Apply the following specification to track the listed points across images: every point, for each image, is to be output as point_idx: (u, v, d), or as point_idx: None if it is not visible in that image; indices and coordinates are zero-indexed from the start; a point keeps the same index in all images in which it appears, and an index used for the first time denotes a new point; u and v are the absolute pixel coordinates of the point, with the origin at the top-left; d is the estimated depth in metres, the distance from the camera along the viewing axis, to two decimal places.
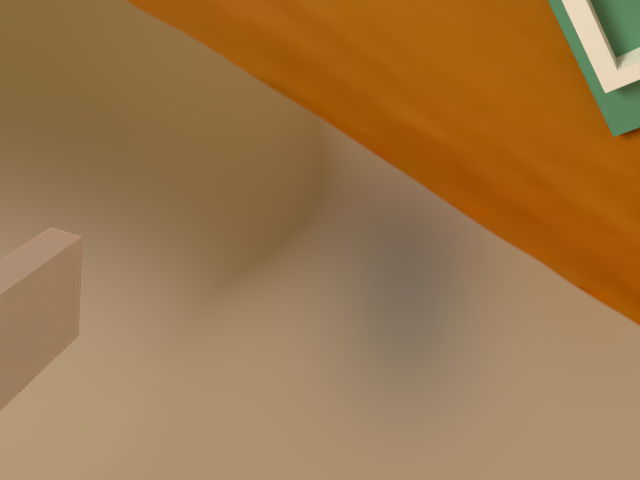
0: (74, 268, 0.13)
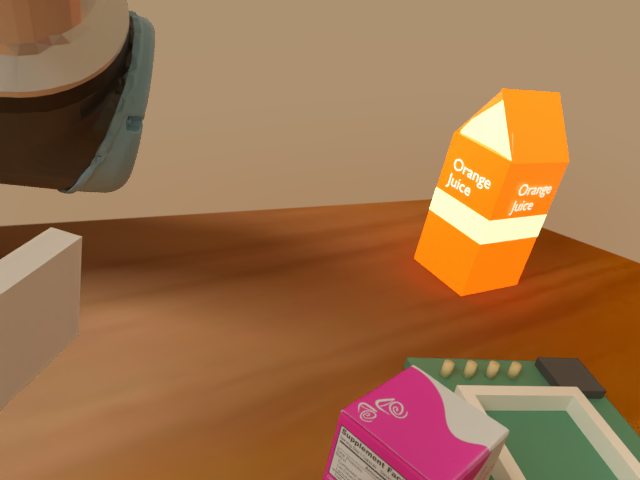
0: (74, 268, 0.13)
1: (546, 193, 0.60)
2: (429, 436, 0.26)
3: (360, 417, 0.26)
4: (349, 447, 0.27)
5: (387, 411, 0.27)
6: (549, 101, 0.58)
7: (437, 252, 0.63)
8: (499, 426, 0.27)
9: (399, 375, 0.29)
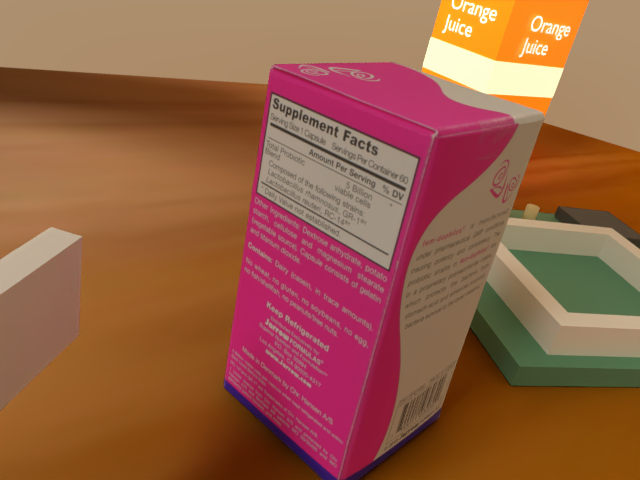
0: (74, 268, 0.13)
1: (563, 37, 0.50)
2: (414, 95, 0.16)
3: (300, 70, 0.16)
4: (285, 128, 0.16)
5: (346, 74, 0.17)
6: None
7: None
8: (528, 108, 0.17)
9: None
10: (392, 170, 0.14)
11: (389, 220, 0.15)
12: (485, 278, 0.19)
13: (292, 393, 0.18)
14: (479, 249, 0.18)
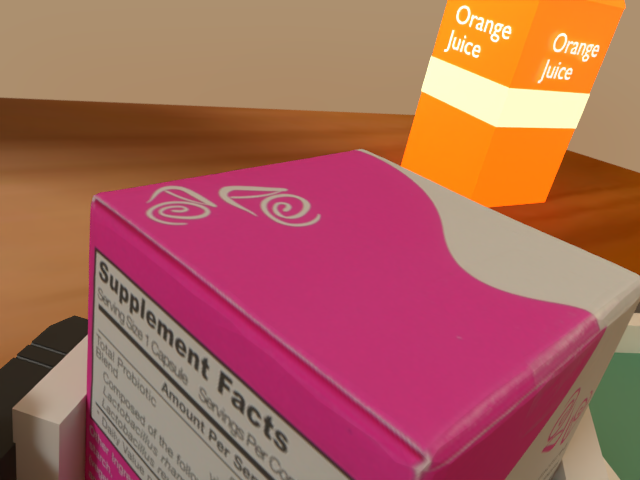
0: None
1: (591, 57, 0.41)
2: (383, 273, 0.07)
3: (146, 211, 0.08)
4: (121, 325, 0.08)
5: (249, 210, 0.08)
6: None
7: (433, 151, 0.44)
8: (615, 268, 0.09)
9: None
10: None
11: None
12: None
13: None
14: None
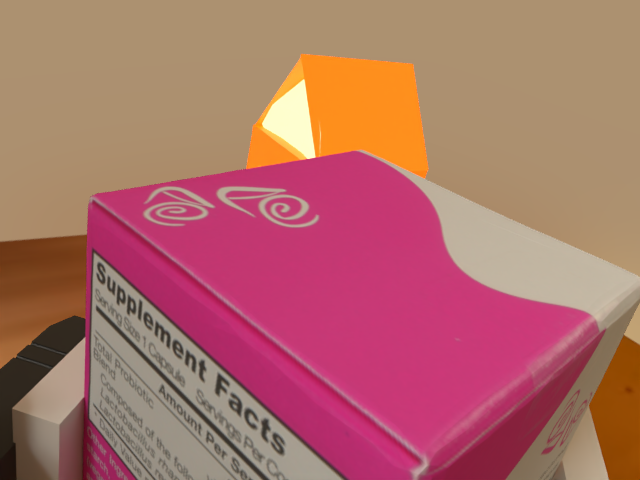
0: None
1: None
2: (382, 275, 0.07)
3: (144, 211, 0.08)
4: (118, 326, 0.08)
5: (248, 210, 0.08)
6: (393, 77, 0.38)
7: None
8: (614, 269, 0.09)
9: (315, 157, 0.11)
10: None
11: None
12: None
13: None
14: None
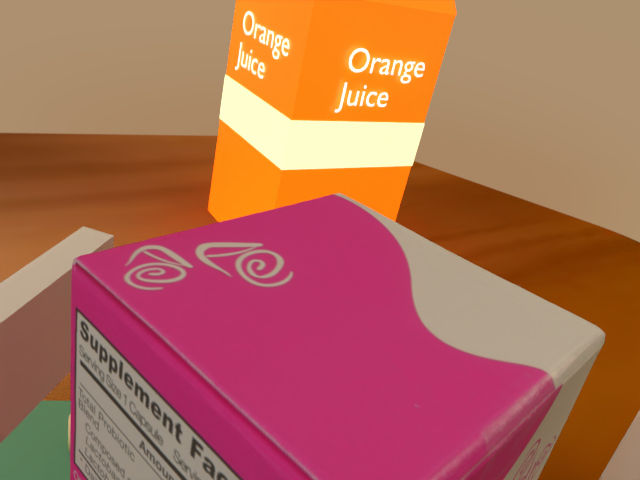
0: None
1: (416, 78, 0.32)
2: (351, 337, 0.08)
3: (125, 275, 0.08)
4: (100, 381, 0.08)
5: (225, 269, 0.09)
6: None
7: (232, 195, 0.35)
8: (575, 321, 0.09)
9: (294, 204, 0.11)
10: None
11: None
12: None
13: None
14: None
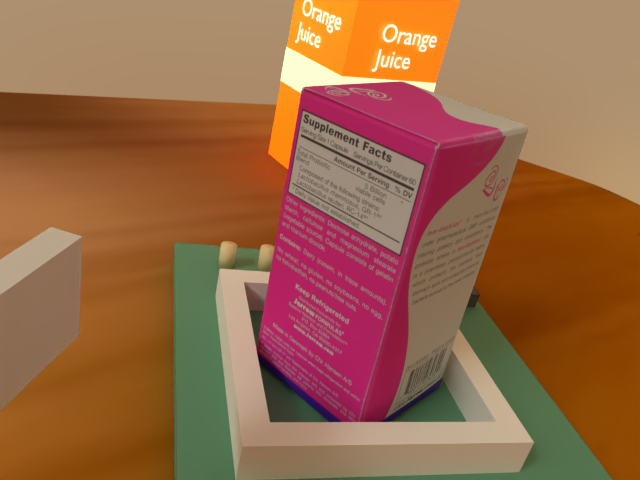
0: (74, 268, 0.13)
1: (430, 48, 0.44)
2: (420, 113, 0.19)
3: (326, 92, 0.19)
4: (313, 139, 0.20)
5: (364, 94, 0.20)
6: None
7: (290, 138, 0.47)
8: (515, 122, 0.21)
9: (382, 82, 0.23)
10: (402, 174, 0.18)
11: (400, 214, 0.18)
12: (479, 264, 0.23)
13: (317, 360, 0.22)
14: (474, 240, 0.21)
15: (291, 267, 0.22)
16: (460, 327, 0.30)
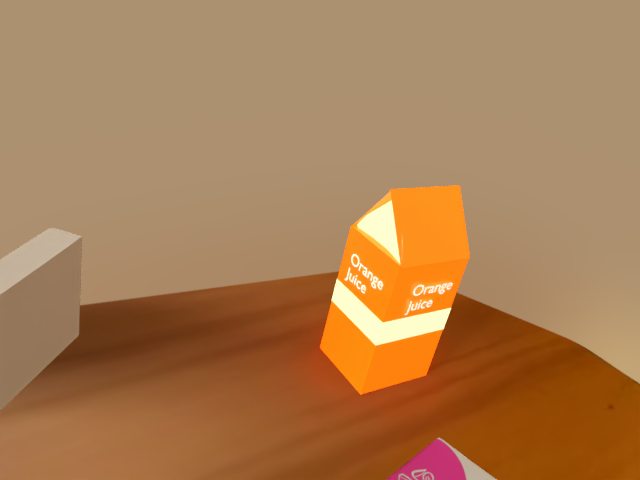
0: (74, 268, 0.13)
1: (447, 289, 0.58)
2: None
3: None
4: None
5: None
6: (447, 196, 0.56)
7: (339, 346, 0.61)
8: None
9: (428, 447, 0.37)
10: None
11: None
12: None
13: None
14: None
15: None
16: None
